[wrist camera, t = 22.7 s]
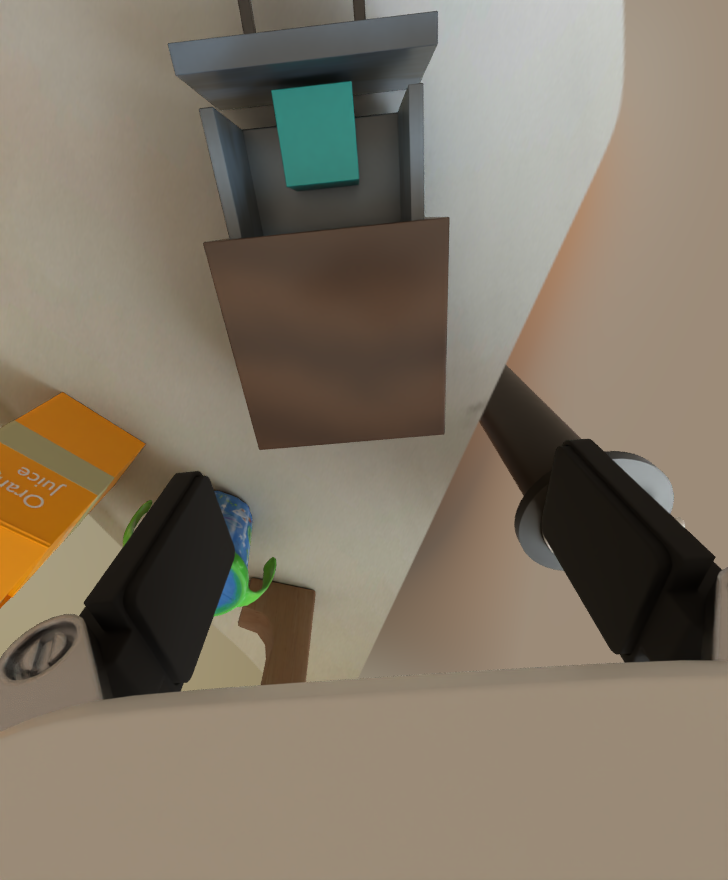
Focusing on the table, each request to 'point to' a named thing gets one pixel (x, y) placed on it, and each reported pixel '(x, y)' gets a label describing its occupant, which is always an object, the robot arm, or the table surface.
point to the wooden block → (281, 629)
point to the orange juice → (53, 481)
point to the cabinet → (338, 330)
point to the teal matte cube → (317, 135)
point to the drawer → (304, 64)
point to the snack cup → (240, 532)
